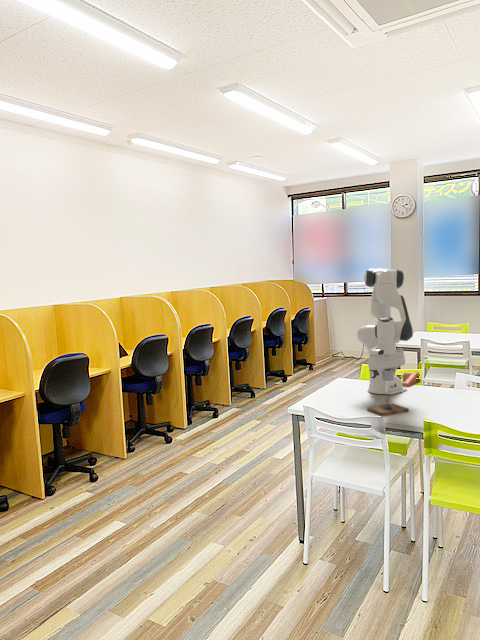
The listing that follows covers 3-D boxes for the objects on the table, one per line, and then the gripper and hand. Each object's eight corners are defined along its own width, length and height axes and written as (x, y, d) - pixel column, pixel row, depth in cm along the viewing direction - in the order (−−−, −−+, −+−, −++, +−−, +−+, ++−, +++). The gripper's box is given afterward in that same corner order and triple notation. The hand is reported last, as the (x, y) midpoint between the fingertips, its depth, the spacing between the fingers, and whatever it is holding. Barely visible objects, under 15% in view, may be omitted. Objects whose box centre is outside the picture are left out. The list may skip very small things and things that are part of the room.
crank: (407, 382, 311) (407, 370, 310) (420, 383, 306) (419, 371, 305) (395, 388, 296) (394, 375, 295) (407, 390, 291) (407, 376, 290)
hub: (388, 377, 249) (388, 368, 249) (395, 379, 244) (395, 370, 244) (379, 379, 247) (379, 369, 247) (386, 381, 242) (386, 371, 242)
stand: (392, 406, 256) (392, 392, 255) (408, 411, 245) (407, 396, 244) (367, 410, 250) (366, 396, 250) (382, 415, 239) (381, 400, 238)
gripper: (399, 346, 251) (399, 372, 252) (366, 350, 243) (367, 377, 245) (407, 347, 245) (408, 374, 246) (373, 352, 238) (374, 380, 239)
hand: (387, 376), depth 246 cm, fingers closed on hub, 6 cm apart
